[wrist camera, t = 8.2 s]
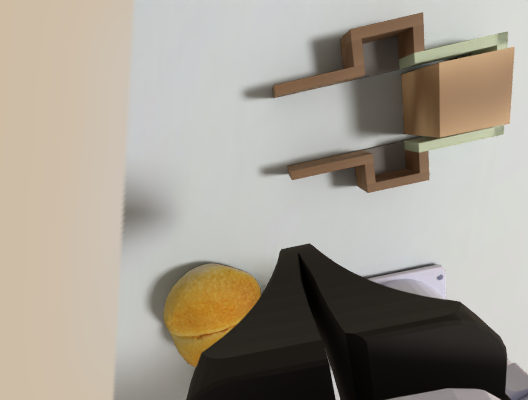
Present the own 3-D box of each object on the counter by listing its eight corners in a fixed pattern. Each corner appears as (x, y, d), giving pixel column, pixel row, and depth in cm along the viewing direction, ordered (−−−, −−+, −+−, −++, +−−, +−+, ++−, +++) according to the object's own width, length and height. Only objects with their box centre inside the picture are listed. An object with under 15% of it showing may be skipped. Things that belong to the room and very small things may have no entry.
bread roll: (250, 248, 22) (248, 276, 18) (275, 335, 24) (278, 376, 21) (153, 272, 22) (131, 303, 18) (188, 355, 25) (175, 398, 21)
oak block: (459, 122, 19) (509, 123, 15) (403, 134, 19) (439, 137, 16) (459, 62, 18) (514, 46, 14) (400, 74, 18) (439, 62, 14)
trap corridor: (478, 160, 20) (502, 164, 18) (293, 199, 20) (297, 207, 19) (481, 6, 17) (509, -8, 15) (266, 56, 18) (267, 48, 16)
